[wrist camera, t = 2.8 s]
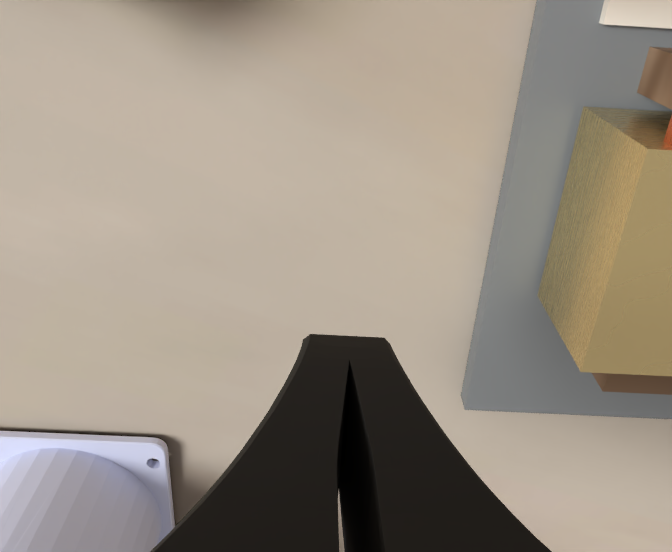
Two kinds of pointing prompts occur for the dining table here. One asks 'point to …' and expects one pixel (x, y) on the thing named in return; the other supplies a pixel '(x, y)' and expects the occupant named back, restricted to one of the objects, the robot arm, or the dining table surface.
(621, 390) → the gauge housing
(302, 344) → the robot arm
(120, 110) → the dining table surface
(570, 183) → the tan piece
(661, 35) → the mat
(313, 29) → the dining table surface
